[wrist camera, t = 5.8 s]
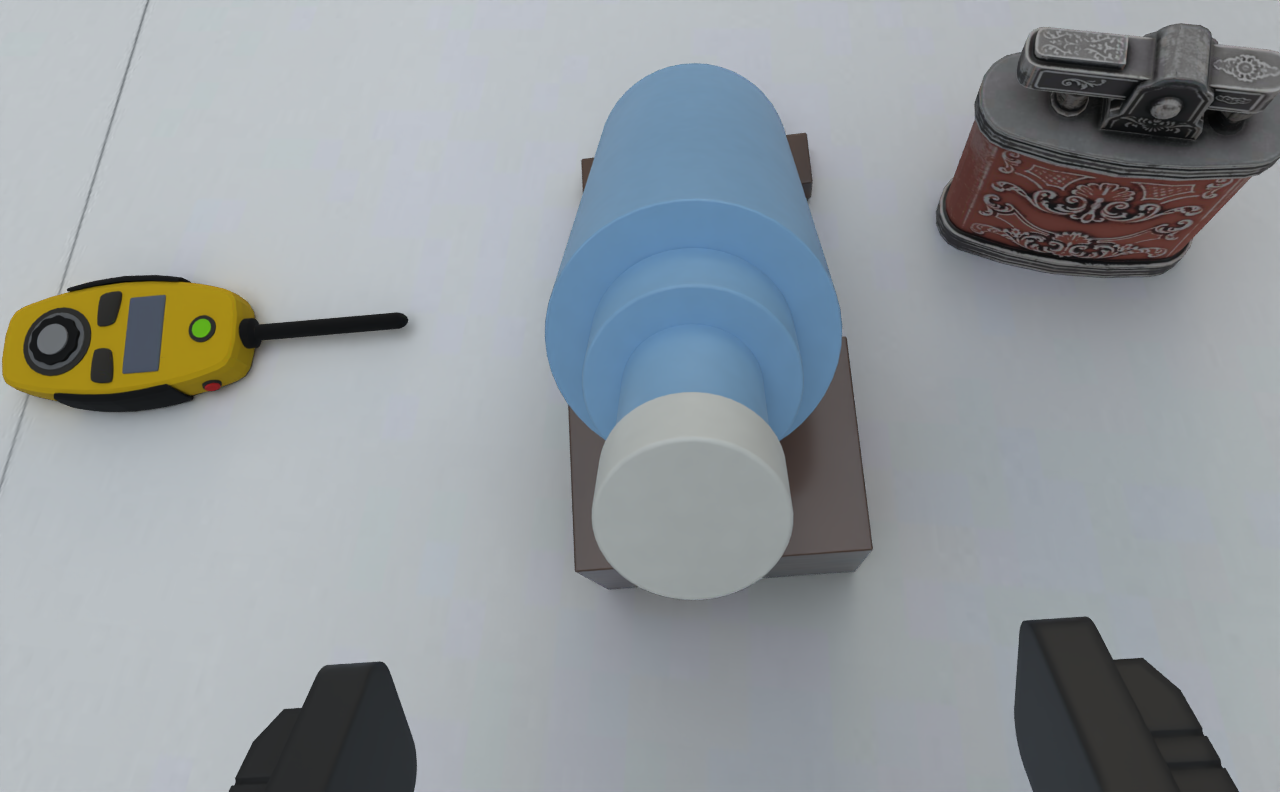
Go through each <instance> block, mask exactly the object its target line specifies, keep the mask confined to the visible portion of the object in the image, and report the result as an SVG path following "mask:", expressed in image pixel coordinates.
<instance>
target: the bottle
mask: <svg viewBox="0 0 1280 792" xmlns="http://www.w3.org/2000/svg"><path fill="white" fill-rule="evenodd" d="M545 342H546V350H547V357H548V361H549V364H550V368H551V372H552V374H553V377H554V379H555V381H556V384H557V386H558V388H559V390H560V392H561V393H562V395H563V397H564V398H565V400H566V402H567V403H568V405H569V406H570V407H571V408H572V410H573V411H574V412H575V413H576V415H577V416H578V417H579V418H580V419H581V420H582V421H583V422H584V423H585V424H586V425H587V426H588V427H589V428H590V429H591V430H593V431H594V432H595V433H596V434H598V435H599V436H600V437H602V438H603V439H604V440H606V441H605V443H604V446H603V448H602V451H601V455H600V460H599V466H598V472H597V479H596V485H595V492H594V499H593V505H592V527H593V532H594V535H595V539H596V541H597V544H598V546H599V548H600V550H601V552H602V553H603V555H604V556H605V558H606V560H607V561H608V562H609V563H610V565H611V566H612V567H613V568H614V569H615V570H616V571H617V572H618V573H619V574H620V575H621V576H623V577H624V578H625V579H627V580H628V581H630V582H631V583H633V584H634V585H636V586H638V587H640V588H642V589H644V590H646V591H649V592H651V593H654V594H657V595H660V596H664V597H668V598H674V599H682V600H705V599H714V598H718V597H723V596H727V595H730V594H733V593H736V592H738V591H740V590H743V589H745V588H747V587H749V586H750V585H752V584H754V583H755V582H757V581H758V580H760V579H761V578H762V577H763V576H765V575H766V574H767V573H768V572H769V571H770V570H771V569H772V568H773V567H774V566H775V565H776V563H777V562H778V561H779V559H780V558H781V557H782V555H783V553H784V551H785V549H786V547H787V545H788V543H789V540H790V537H791V534H792V528H793V507H792V501H791V494H790V487H789V481H788V474H787V467H786V461H785V455H784V452H783V449H782V446H781V444H780V442H779V441H780V440H782V439H783V438H785V437H786V436H788V435H789V434H790V433H791V432H793V431H794V430H795V429H796V428H797V427H798V426H799V425H801V424H802V423H803V422H804V421H805V420H806V418H807V417H808V416H809V415H810V414H811V413H812V412H813V411H814V409H815V408H816V407H817V405H818V404H819V402H820V401H821V399H822V398H823V396H824V395H825V393H826V391H827V389H828V387H829V385H830V383H831V381H832V379H833V376H834V373H835V370H836V368H837V365H838V361H839V356H840V350H841V345H842V321H841V312H840V307H839V303H838V299H837V295H836V291H835V288H834V285H833V282H832V279H831V276H830V273H829V269H828V266H827V263H826V260H825V257H824V254H823V250H822V247H821V244H820V241H819V238H818V235H817V232H816V228H815V225H814V222H813V219H812V216H811V213H810V210H809V206H808V203H807V200H806V197H805V194H804V191H803V187H802V184H801V181H800V178H799V175H798V172H797V169H796V165H795V162H794V159H793V156H792V153H791V150H790V146H789V143H788V140H787V137H786V134H785V131H784V128H783V125H782V122H781V120H780V118H779V115H778V113H777V112H776V110H775V108H774V107H773V105H772V103H771V102H770V101H769V100H768V98H767V97H766V96H765V94H764V93H763V92H762V91H761V90H759V89H758V88H757V87H756V86H755V85H754V84H753V83H751V82H750V81H749V80H747V79H746V78H744V77H742V76H741V75H739V74H737V73H735V72H733V71H730V70H728V69H725V68H722V67H718V66H714V65H709V64H697V63H693V64H680V65H675V66H670V67H667V68H664V69H661V70H658V71H656V72H654V73H652V74H650V75H648V76H646V77H644V78H643V79H641V80H640V81H639V82H637V83H636V84H634V85H633V86H632V87H631V88H630V89H629V90H628V91H627V92H625V94H624V95H623V96H622V97H621V98H620V99H619V101H618V102H617V103H616V105H615V106H614V108H613V109H612V111H611V113H610V115H609V117H608V119H607V121H606V123H605V126H604V129H603V132H602V135H601V138H600V141H599V145H598V148H597V151H596V154H595V157H594V161H593V164H592V167H591V170H590V173H589V176H588V180H587V183H586V186H585V189H584V192H583V195H582V199H581V202H580V205H579V208H578V211H577V214H576V218H575V221H574V224H573V227H572V230H571V233H570V237H569V240H568V243H567V246H566V249H565V252H564V256H563V259H562V262H561V265H560V268H559V271H558V275H557V278H556V281H555V284H554V287H553V290H552V294H551V297H550V300H549V303H548V309H547V315H546V321H545Z"/></svg>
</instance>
